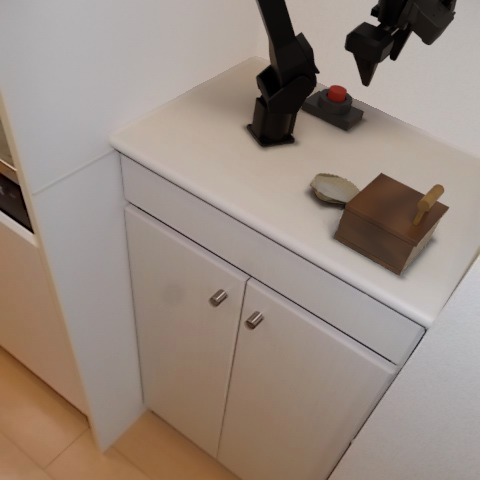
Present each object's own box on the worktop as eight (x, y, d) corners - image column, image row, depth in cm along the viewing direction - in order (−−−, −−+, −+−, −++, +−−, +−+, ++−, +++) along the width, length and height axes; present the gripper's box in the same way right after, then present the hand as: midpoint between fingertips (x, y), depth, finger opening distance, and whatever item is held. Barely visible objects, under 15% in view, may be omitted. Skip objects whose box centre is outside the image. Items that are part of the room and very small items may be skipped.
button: (347, 99, 96) (350, 89, 95) (339, 104, 94) (341, 95, 93) (332, 92, 97) (335, 83, 96) (324, 97, 95) (326, 88, 94)
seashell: (360, 213, 82) (336, 175, 85) (371, 200, 80) (346, 161, 83) (321, 218, 78) (297, 178, 81) (331, 205, 76) (306, 163, 78)
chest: (430, 239, 78) (445, 210, 74) (399, 275, 72) (414, 246, 68) (368, 206, 81) (379, 177, 77) (333, 238, 75) (344, 208, 71)
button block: (361, 119, 98) (367, 101, 96) (346, 131, 95) (352, 113, 92) (317, 98, 101) (321, 81, 99) (300, 109, 98) (304, 91, 95)
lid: (447, 211, 73) (462, 182, 70) (416, 247, 67) (431, 218, 64) (379, 177, 77) (390, 148, 73) (344, 208, 71) (354, 178, 67)
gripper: (426, 18, 69) (394, 120, 82) (485, -36, 76) (447, 64, 90) (353, -10, 72) (334, 92, 85) (416, -59, 80) (390, 41, 93)
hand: (379, 72), depth 88 cm, fingers open, 9 cm apart
